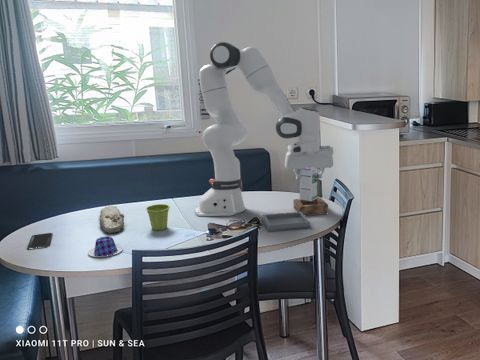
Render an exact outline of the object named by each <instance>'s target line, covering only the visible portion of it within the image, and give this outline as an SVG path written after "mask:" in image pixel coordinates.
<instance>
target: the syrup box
mask: <svg viewBox="0 0 480 360" xmlns="http://www.w3.org/2000/svg"><path fill="white" fill-rule="evenodd" d="M318 174H319V168H315V167H306V168H305V169H299V175H300V179H299V199H301V200H305V201H313V200H315V199H317V198H318V193H319V191H318V188H319V187H318V185H319V184H318V183H319V178H318Z"/></svg>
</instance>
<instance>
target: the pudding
mask: <svg viewBox="0 0 480 360" xmlns="http://www.w3.org/2000/svg"><path fill="white" fill-rule="evenodd" d="M117 248H119V251H118V249H117ZM123 249H124V247H123V246H122V245H119V244H116V242H115V239H114V238H113V237H112V236H107V235H105V236H100V237H98V238H96V240H95V244H94V247H93V248H91V249H90V250H89V251H88V255H89V256H90V257H95V258H105V257H111V256H114V255H118V254H119V253H121V252H122V251H123ZM116 251H118V252H117V253H116ZM93 253H94V254H93ZM112 254H113V255H112ZM95 255H96V256H95ZM107 255H109V256H107Z"/></svg>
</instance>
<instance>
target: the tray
mask: <svg viewBox="0 0 480 360" xmlns="http://www.w3.org/2000/svg"><path fill="white" fill-rule="evenodd" d="M262 222H263V223H264V226H265V227H266V229H267V231H268V232H280V231H292V230H303V229H310V226H311V225H310V224H311V223H310V221H309V220H308V218H307V217H306V216H304V215H303V213H302V212H296V211H293V212H282V213H281V212H279V213H268V214H267V213H266V214H262Z"/></svg>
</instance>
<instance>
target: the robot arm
mask: <svg viewBox="0 0 480 360" xmlns="http://www.w3.org/2000/svg"><path fill="white" fill-rule="evenodd" d="M209 59H210V63H209V64H206V65H203V67H201V68H200V70H199V74H198V76H199V77H198V79H199V86H200V91H201V95H202V99H203V103H204V104H203V105H204V108H205V111H206V112H207V114H209V116H211V117H212V118H213V121H215V124H214V123H213V124H212V125H210V126H208V127H207V128H205V129H204V131H203V132H202V135H201V139H202V143H203V145H204V146H205V148H206V149H208V150H209V152H210V155H211V157H212V161H213V166H214V178H210V179H209V184H210V187H211V188H210V189H208V190H207V191H206V192H205V193H204V194H202V195H201V196H200V199H199V203H198V206H196V207H195V209H194V214H195V215H196V216H198V217H223V216H224V217H227V216H229V217H230V216H235V215H236V214H239V213H242V212H244V211H245V210H246V206H245V203H244V200H243V199H244V198H243V193H242V191H243V182H242V177H241V163H240V160H239V158H238V157H236V155H235V151H234V146H237V145H240V144H241V143H242V142H244V141H245V140H246V138H247V136H248V128H247V125H246V124H245V123H244V122H242V121H241V120H240V118H239V117H238V115H237V114H236V112H235V109H234V107H233V105H232V101H231V97H230V95H229V90H228V86H227V81H226V75H228V74H229V73H231V72H232V71H234V70H236V69H238V70H240V71H241V73H242V74H243V76H244V78H245V80H246V82H247V83H248V85H249V86H250V87H251V89H252V90H253V91H254V92H255V93H257V94H258V95H262V96H264V97H266V98H267V99H269V101H270V102H271V103H272V104H273V106H274V108H275V110H276V111H277V112H278V114H279V116H280V118H279V119H277V121H276V124H275V131H276V133H277V135H278V136H279V137H280V138H282V139H286V140H287V139H293V138H294V139H295V138H297V139H298V141H297V142H294V143H291V144H289V145H287V152H286V153H285V158H284V167H285V169H286V170H288V171H290V170H293V173H294V174H295V180H299V181H300V174H298V173H297V172H298V171H299V170H300V169H305V168H306V167H315V168H318V169H319V170H320V171H319V172H318V179H322V178H323V174H324V172H325V169H328V168H329V169H330V168H332V167H333V166H334V157H333V155H334V147H332V146H330V145H321V137H320V130H321V116H320V113H319V111H318V110H317V109H316V108H314V107H309V106H307V107H306V106H302V107H300V108H299V109H297V110H295V108H294V107H293V106H292V104H291V102H290V101H289V100H288V98H287V96H286V95H285V93H284V92H283V89H282V88H281V86H280V84H279V83H278V81H277V78H276V76H275V74H274V73H273V71H272V68H271V66H270V65H269V63H268V62H267V60H266V58H265V56H264V55H263V54H262V53H261V52H260V51H259V49H258V48H256V47H255V46H248V47H245V48H243V49H241V50H240V49H239V48H238V47H236V46H235V45H234V44H232V43H229V42H226V41H220V42H217V43H215V44H214V45H213V46H212V47H211V48H210V51H209Z"/></svg>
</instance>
